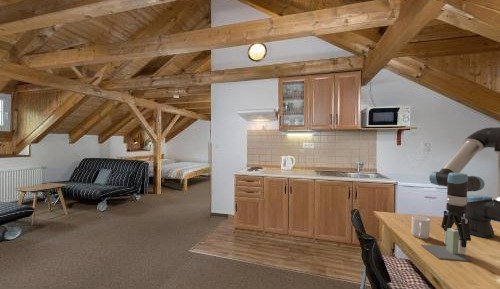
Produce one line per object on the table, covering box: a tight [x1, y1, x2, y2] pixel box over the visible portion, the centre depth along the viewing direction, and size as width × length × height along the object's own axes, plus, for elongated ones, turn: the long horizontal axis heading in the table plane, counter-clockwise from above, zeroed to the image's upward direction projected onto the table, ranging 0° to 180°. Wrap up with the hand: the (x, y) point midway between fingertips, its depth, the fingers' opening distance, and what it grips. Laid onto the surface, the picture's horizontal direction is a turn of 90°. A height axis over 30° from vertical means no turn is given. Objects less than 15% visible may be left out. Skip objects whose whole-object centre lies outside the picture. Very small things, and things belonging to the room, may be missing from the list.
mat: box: [420, 244, 472, 262], centre depth 117 cm, size 14×14×1 cm
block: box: [445, 227, 464, 255], centre depth 117 cm, size 4×4×11 cm
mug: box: [410, 215, 431, 240], centre depth 136 cm, size 9×12×11 cm
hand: (454, 248), depth 117 cm, fingers open, 9 cm apart
